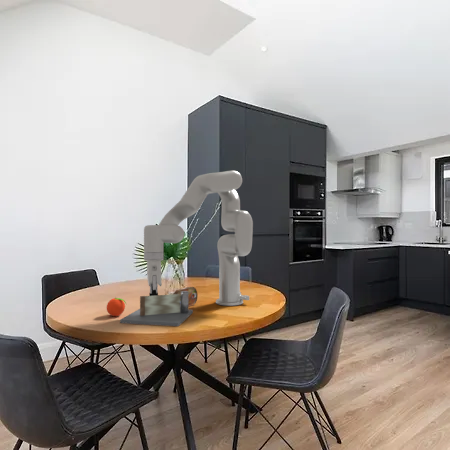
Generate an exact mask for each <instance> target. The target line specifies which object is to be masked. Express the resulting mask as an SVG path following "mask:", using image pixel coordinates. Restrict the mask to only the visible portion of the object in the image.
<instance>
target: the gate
mask: <svg viewBox="0 0 450 450" xmlns="http://www.w3.org/2000/svg"><path fill="white" fill-rule="evenodd" d="M139 309H140V316H144V315H155V314H167V313H178V312H180V294H174V293H173V294H171V293H169V294H158V295H154V296H149V295H141V296H140V297H139Z"/></svg>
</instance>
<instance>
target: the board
mask: <svg viewBox="0 0 450 450" xmlns="http://www.w3.org/2000/svg"><path fill="white" fill-rule="evenodd" d="M193 311H194V310H193V309H188V313H186V314H183V313H181V309H180V312H178V313H167V314H155V315H144V316H140V308H138V309H136V310H135V311H133V312H132V313H129V314H128V315H126V316H124V317H122V318H120V320H119V324H133V325H150V326H165V327H166V326H167V327H169V326H170V327H179V326H180V325H182V324H183V323H184V321H186V320H187V319H188V318H189V317H190V316H191V315H192V314H193Z"/></svg>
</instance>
